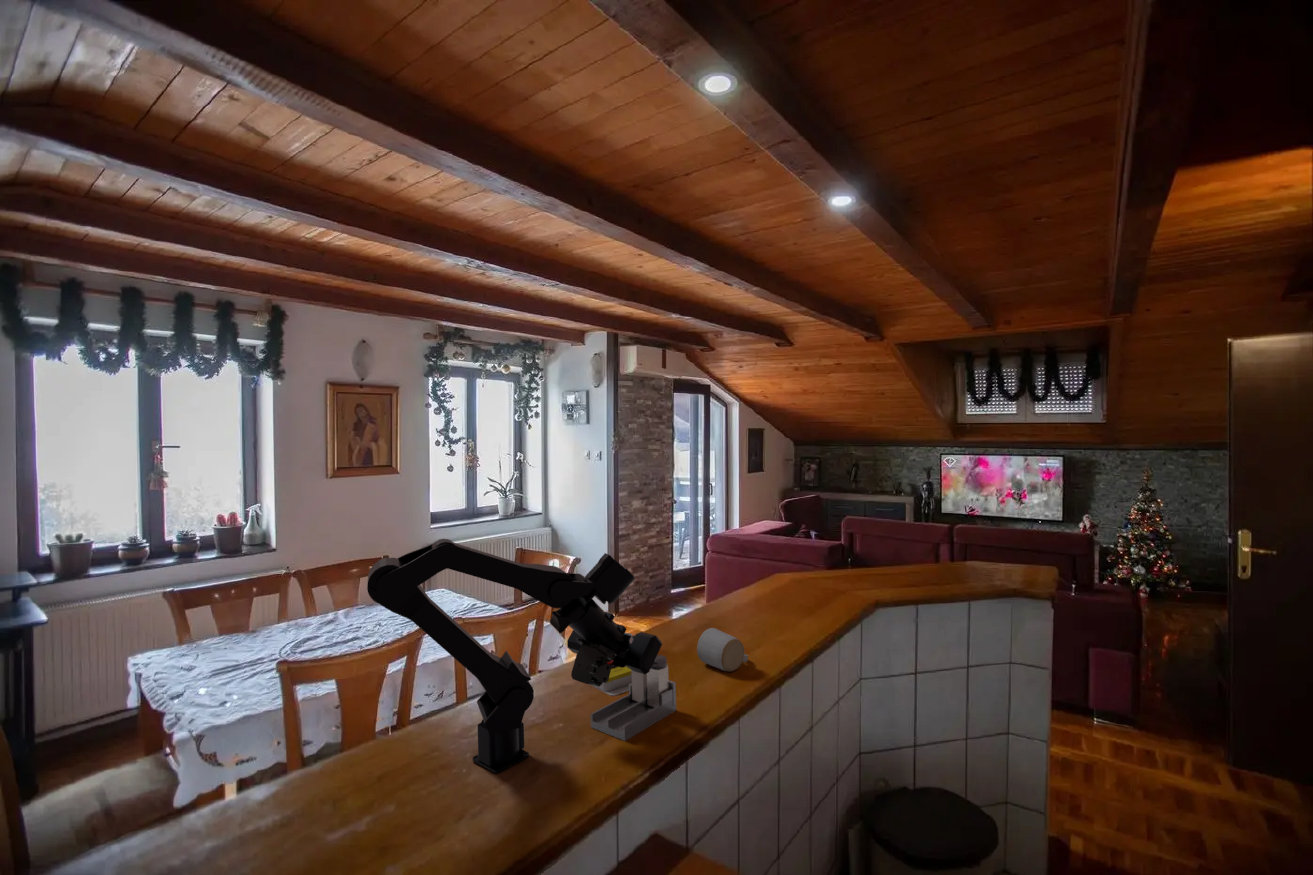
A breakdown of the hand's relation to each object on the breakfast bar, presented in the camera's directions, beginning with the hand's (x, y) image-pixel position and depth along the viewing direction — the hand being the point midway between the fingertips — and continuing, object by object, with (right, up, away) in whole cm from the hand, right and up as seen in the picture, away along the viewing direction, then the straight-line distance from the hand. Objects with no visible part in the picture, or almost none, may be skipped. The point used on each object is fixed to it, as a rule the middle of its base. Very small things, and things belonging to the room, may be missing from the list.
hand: (635, 667), depth 113 cm
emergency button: (-6, -9, +15) cm, 19 cm away
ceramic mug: (+19, -8, +21) cm, 29 cm away
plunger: (+1, -7, +2) cm, 7 cm away
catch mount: (0, -8, -3) cm, 9 cm away
